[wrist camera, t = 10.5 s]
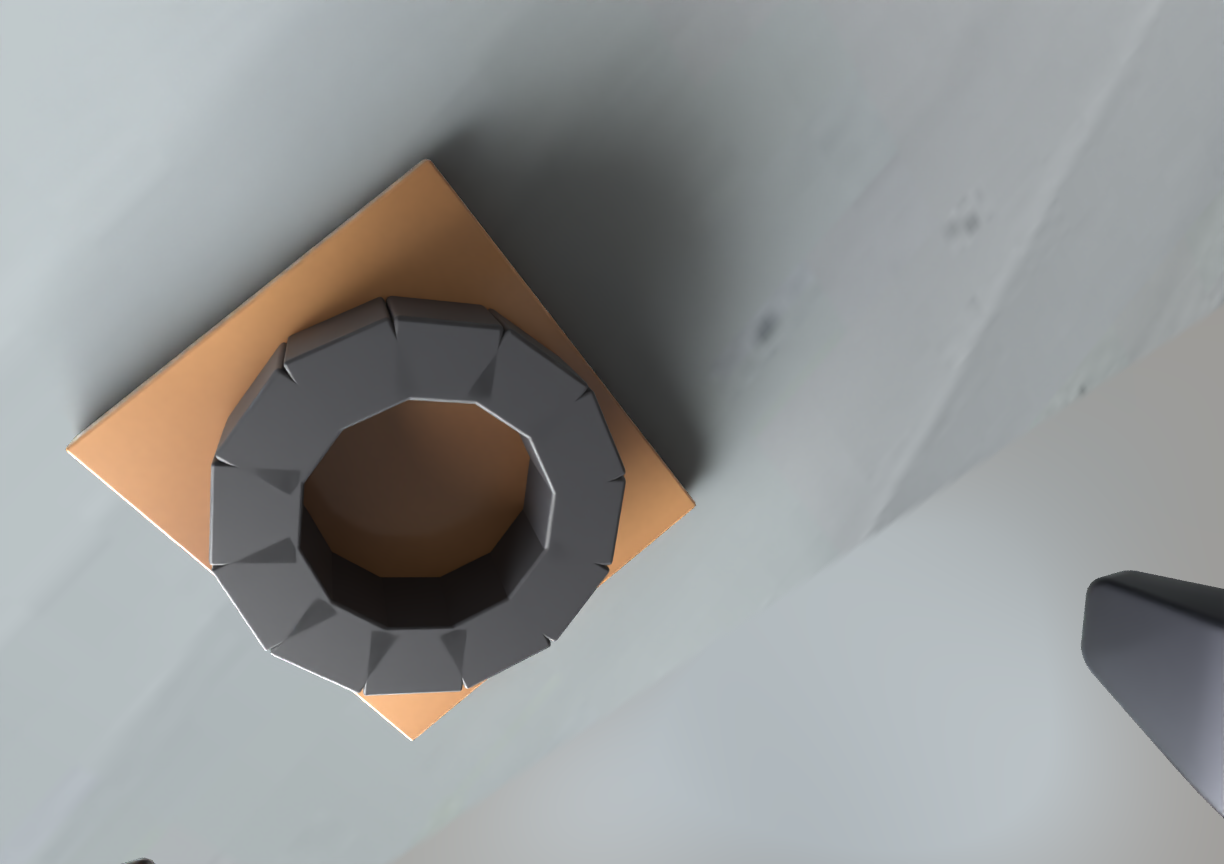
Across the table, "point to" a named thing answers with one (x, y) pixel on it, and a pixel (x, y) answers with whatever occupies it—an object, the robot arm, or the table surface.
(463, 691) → the cork mat
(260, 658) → the table surface
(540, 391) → the tape roll
